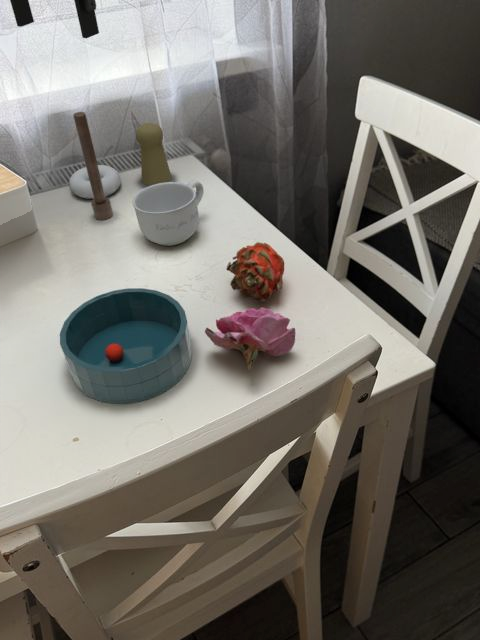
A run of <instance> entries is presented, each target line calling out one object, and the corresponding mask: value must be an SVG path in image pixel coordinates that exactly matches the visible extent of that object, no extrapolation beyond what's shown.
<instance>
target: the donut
mask: <svg viewBox="0 0 480 640" xmlns="http://www.w3.org/2000/svg"><path fill="white" fill-rule="evenodd" d="M98 169H99V173H100V177H101V181H102V186H103V190H104V194H105V197H108V196H110V195H112V194H114V193H115V192H116V191H117V190H118V189H119V188H120V185H121V183H122V180H121V174H120V173H119V172H118V171H117V170H116V169H115V168H114V167H111V166H109V165H105V164H98ZM68 183H69V189H70V191H71V192H72V193H73V194H74V195H75V196H78V197H80V198H81V199H88V200H89V199H90V200H91V199H92V200H93V199H94V196H93V192H92V188H91V184H90V180H89V176H88V172H87V168H86V166H84V167H82V168H80V169H78V170H76V171H74V172H73V174H72V175H71V176H70V178H69V181H68Z"/></svg>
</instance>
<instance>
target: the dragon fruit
mask: <svg viewBox="0 0 480 640" xmlns="http://www.w3.org/2000/svg"><path fill="white" fill-rule="evenodd" d="M232 260H234V261H233V262H230V261H229V262H228V263H227V265H226V271H229V272H230V273H231V274H234V276H233V277H232V280H231V281H230V284H229V285H230V287H231V289H232V290H233V291H235V290H238V291H240V292H241V295H242V296H243V297H244V299H251V298H253V299H258V300H259V301H260V302H266V301H268V300H269V299H270V298H271V296H272V294H273V292H275V291H276V292H277V291H280V290H282V289H283V284H284V282H283V281H284V280H283V275H284V273H285V260H284V258H283V257H282V256H281V255H280V254H279V253H278V252H277V251H276V250H275V249H274V248H273V247H272V245H270V244H268V243H266V242H260V241H257V242H255V243H254V245H246V247H245V246H243V247H241V248H240V249H239V250H238V251H236V255H235V256H233V257H232Z"/></svg>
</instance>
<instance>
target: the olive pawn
mask: <svg viewBox="0 0 480 640" xmlns="http://www.w3.org/2000/svg"><path fill="white" fill-rule="evenodd" d="M135 139H136V141H137V142H138V144H139V145H140V164H141V165H140V166H141V167H140V169H141V183H142V184H144V185H145V186H147V187H149V186H152V185H155V184H159V183H165V182H172V180H173V179H172V173H171V170H170V167H169V163H168V159H167V157H166V153H165V149H164V146H163V143H162V141H163V140H164V132H163V129H162V127H161V126H160V125H159V124H157V123H153V122H147V123H146V122H145V123H142V124H140V125H139V126H137V128H136V130H135Z"/></svg>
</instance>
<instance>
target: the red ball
mask: <svg viewBox="0 0 480 640" xmlns="http://www.w3.org/2000/svg"><path fill="white" fill-rule="evenodd" d="M105 354H106V357H107V358H108V359H109V360H111V361H118V360H120V359H121V358H122V356H123V349H122V347H121V346H120V345H118V344H111V345H109V346H108V347H107V348H106V351H105Z"/></svg>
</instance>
